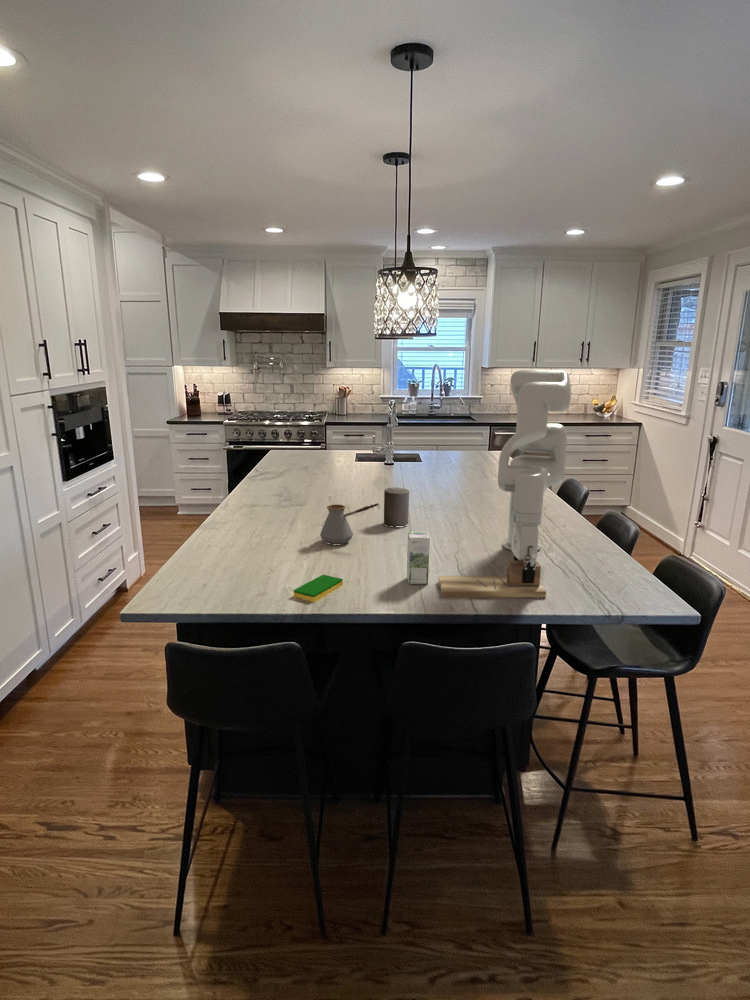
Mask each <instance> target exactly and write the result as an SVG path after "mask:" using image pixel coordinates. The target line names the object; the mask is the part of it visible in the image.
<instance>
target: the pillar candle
mask: <svg viewBox="0 0 750 1000" xmlns="http://www.w3.org/2000/svg"><path fill="white" fill-rule="evenodd" d="M409 507H410V489H408V488H405V487H398V486H395V487H388V488H385V489H384V492H383V525H384V524H385V525H387V526H393V527H396V526H405V525H407V524H408V525H409V516H410V515H409V513H410V508H409ZM385 525H384V526H385ZM387 526H386V527H387Z"/></svg>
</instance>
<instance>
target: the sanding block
mask: <svg viewBox="0 0 750 1000" xmlns="http://www.w3.org/2000/svg"><path fill="white" fill-rule="evenodd" d="M526 562H527V563H528V562H530V561H526ZM535 563H536V564H535V577H534V583H522V572H523V569H524V563H523V561H514V560H507V568H506V569H507V570H506V571H507V573H506V576H507V582H508V584H509V585H510V587H539V584H541V572H542V571H541V570H542V569H541V567H542V566H541V564H540V563H539V561H538V560H536V561H535Z"/></svg>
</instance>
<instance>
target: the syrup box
mask: <svg viewBox="0 0 750 1000" xmlns="http://www.w3.org/2000/svg"><path fill="white" fill-rule="evenodd" d="M430 542H431V541H430V536H429V532H428V531H407V560H406V562H407V563H406V579H407V582H408V585H412V586H413V585H416V586H417V585H418V586H419V585H429V574H430V573H429V569H430V568H429V567H430V566H429V565H430V544H431V543H430Z"/></svg>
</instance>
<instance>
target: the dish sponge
mask: <svg viewBox="0 0 750 1000" xmlns="http://www.w3.org/2000/svg"><path fill="white" fill-rule="evenodd" d="M343 583H344V581H343V578H340V577H335V576H331V575H327V574H322V575H319V576H318V577H316V578H314V579H312V580H310V581H308V582H307V583H304V584H303V585H300V586H298V587H297V588H294V589H293V598H296V597H297V598H296V599H299V598H301V599H300V600H303V601H307V602H310V601H311V603H316V602H318V601H319V600H321V599H323V598H325V597H326V596H328V595H329V593H330V594H331V593H333V592H334V590H335V589H336V590H338V589H340V588H341V587H340V586H342V585H344V584H343ZM339 587H340V588H339ZM342 587H343V586H342ZM337 588H338V589H337ZM336 590H335V591H336ZM332 591H333V592H332ZM327 594H328V595H327ZM322 597H323V598H322ZM317 600H318V601H317Z"/></svg>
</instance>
